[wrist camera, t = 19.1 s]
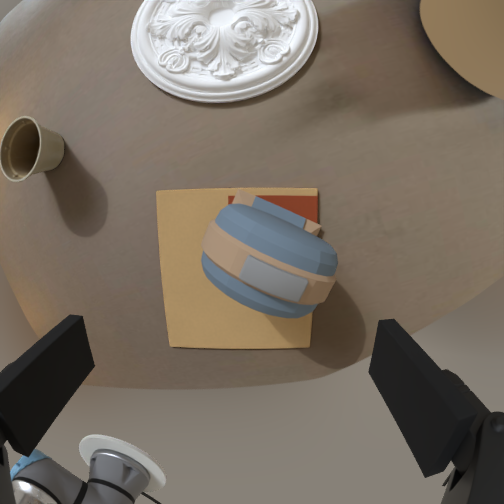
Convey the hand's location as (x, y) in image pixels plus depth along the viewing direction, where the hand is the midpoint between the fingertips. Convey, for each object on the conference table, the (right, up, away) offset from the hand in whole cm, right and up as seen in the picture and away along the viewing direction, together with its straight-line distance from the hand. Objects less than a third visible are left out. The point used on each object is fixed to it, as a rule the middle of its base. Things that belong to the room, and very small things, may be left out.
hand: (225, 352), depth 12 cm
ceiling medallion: (-3, +38, +22) cm, 44 cm away
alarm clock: (+3, +6, +29) cm, 30 cm away
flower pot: (-31, +20, +27) cm, 46 cm away
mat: (-1, +1, +31) cm, 31 cm away
